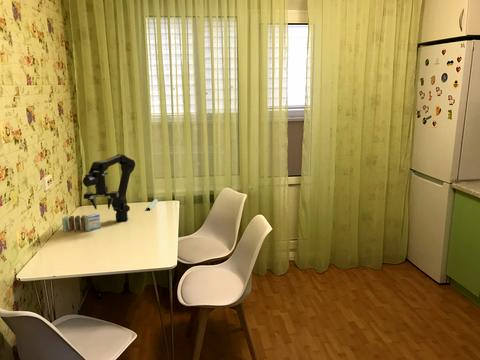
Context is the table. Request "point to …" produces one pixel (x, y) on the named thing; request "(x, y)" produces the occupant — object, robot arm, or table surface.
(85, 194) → the robot arm
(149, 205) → the white black-tipped bar
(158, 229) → the table surface
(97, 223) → the medicine box
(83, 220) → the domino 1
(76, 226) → the domino
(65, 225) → the domino
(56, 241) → the table surface
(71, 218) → the domino
